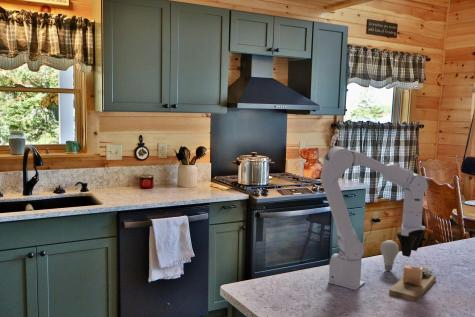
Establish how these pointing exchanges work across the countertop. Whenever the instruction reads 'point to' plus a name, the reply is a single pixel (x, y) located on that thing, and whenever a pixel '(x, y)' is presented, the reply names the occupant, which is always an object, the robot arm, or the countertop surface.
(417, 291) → the wooden board
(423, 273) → the dished metal disc
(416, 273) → the forked latch lever
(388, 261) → the lightbulb
